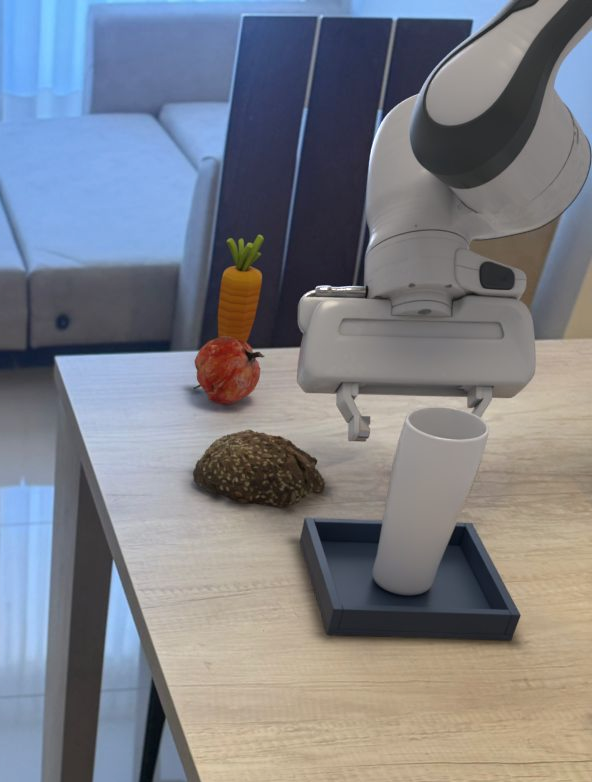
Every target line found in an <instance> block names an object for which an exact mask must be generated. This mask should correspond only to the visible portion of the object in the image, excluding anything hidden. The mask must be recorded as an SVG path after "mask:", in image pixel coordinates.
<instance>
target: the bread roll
mask: <svg viewBox="0 0 592 782" xmlns="http://www.w3.org/2000/svg"><path fill="white" fill-rule="evenodd" d="M316 465H318V459H317V458H316V457H314V456H311V454H309V453H308V452H306V451H304V450H302V449H301V448H300V447H298V446H296V444H294V443H293V442H292V441H291V440H290V439H287V438H285V437H283V436H281V435H273V434H267V433H265V432H259V431H254V430H252V429H249V428H248V429H245V430H241V431H237V432H234V433H231V434H227V435H222V436H221V437H220V438H218V439H215V440H214V442H212V443H211V444H210V445H209V447H207V448H206V449H205V451H204V454H202V456H201V458H200V459H198V460H197V461H196V464H195V468H194V469H193V472H192V477H193V482H194V483H195V484H196V485H198V486H199V487H202V488H204V489H205V490H206V491H207V492H210V493H212V494H214V495H216V496H222V497H224V498H226V499H229V500H231V501H232V502H233V501H234V502H235V503H238V504H245V505H259V506H266V507H271V508H276V509H283V508H289V507H292V506H294V505H296V504H298V503H300V502H301V501H302V500H303V499H305V498H306V497H307V496H308V495H310V494H320V493H322V492H323V491H324V490H325V489H326V483H325V479H324V477H323V476H322V474H321V473H320V471H319V470H318V468H316Z"/></svg>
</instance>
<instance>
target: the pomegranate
mask: <svg viewBox="0 0 592 782" xmlns="http://www.w3.org/2000/svg"><path fill="white" fill-rule="evenodd" d="M258 358H265V355H263V354H262V353H261V352H260V351H254V352H253V347H252V346H251V345H250V344H249V343H247V342H245V341H243V340H236V339H234V338H232V337H229V336H221V337H219V336H218V337H216V338H213V339H211V340H209V341H207V342H206V343H205V344H204V345H203V346H201V348H200V349H199V351H198V353H197V355H196V356H195V359H194V366H195V369H196V371H197V372H196V381H197V383H198V385H196V386H193V390H194V391H195V390H197V389H198V388H202V390H203V391H204V393H205V394H206V395H207V397H208V400H209V401H210V402H212V403H214V404H218V405H223V406H225V405H226V406H227V405H231V404H234V403H237V402H238V401H240V400H241V399H244V398H246V397H248V396H249V395H250V394H252V392H254V390H255V389H256V387H257V385H258V383H259V381H260V376H261V367H260V363H259V361H258V360H257V359H258Z"/></svg>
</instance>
